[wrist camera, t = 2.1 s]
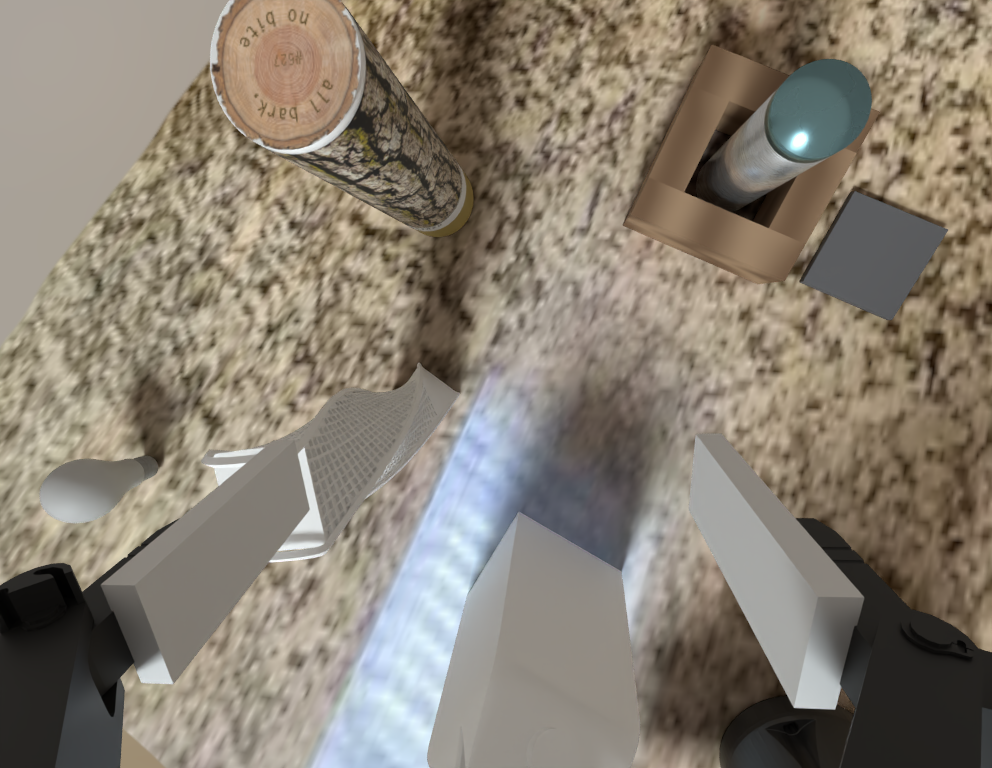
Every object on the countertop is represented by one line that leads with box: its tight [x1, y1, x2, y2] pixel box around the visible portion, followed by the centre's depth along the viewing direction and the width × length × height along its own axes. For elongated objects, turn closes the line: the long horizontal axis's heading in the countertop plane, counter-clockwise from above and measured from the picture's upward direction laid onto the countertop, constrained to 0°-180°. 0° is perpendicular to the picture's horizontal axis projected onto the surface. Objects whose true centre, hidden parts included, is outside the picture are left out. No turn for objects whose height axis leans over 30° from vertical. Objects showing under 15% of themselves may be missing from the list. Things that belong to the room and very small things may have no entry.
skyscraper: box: [201, 363, 460, 562], centre depth 33 cm, size 8×8×28 cm
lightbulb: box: [40, 456, 158, 523], centre depth 47 cm, size 6×6×11 cm
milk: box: [427, 512, 640, 768], centre depth 36 cm, size 12×12×26 cm
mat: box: [800, 191, 948, 320], centre depth 39 cm, size 8×8×1 cm
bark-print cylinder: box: [210, 0, 474, 237], centre depth 31 cm, size 7×7×25 cm
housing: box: [623, 45, 880, 284], centre depth 38 cm, size 13×13×5 cm
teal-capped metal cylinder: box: [696, 59, 872, 212], centre depth 33 cm, size 5×5×15 cm
